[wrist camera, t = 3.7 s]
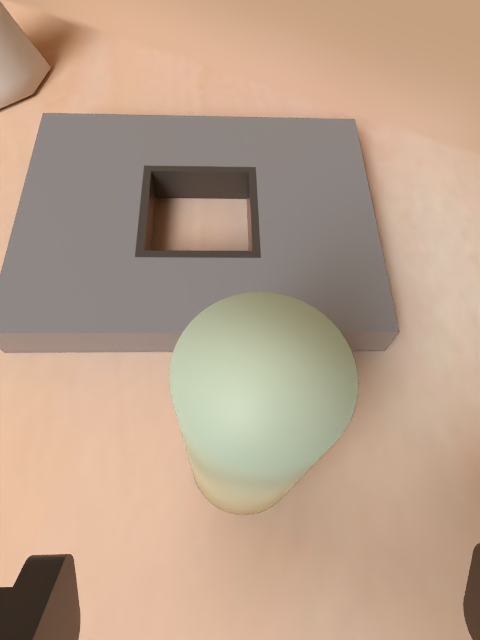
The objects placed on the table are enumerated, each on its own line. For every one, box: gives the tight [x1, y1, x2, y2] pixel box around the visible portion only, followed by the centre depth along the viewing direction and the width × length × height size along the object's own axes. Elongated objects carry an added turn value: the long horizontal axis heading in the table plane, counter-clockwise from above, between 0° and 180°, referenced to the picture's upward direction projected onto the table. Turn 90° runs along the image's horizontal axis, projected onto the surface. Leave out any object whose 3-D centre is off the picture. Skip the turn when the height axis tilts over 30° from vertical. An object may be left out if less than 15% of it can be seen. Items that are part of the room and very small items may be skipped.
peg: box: [169, 292, 359, 515], centre depth 15 cm, size 4×4×10 cm
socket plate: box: [0, 113, 399, 353], centre depth 24 cm, size 18×14×2 cm
